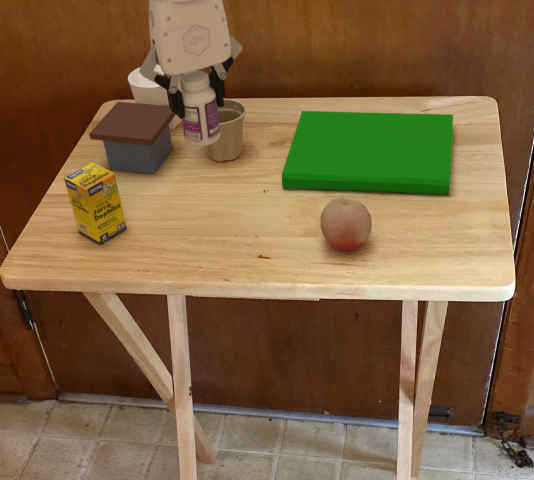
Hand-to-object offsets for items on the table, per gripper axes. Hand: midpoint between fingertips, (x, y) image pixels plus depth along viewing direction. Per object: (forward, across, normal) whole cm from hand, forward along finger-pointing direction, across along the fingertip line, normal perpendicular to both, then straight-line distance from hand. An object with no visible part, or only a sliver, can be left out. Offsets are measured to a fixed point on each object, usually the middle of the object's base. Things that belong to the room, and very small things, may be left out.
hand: (198, 107), depth 116 cm
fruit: (+23, +17, -13) cm, 31 cm away
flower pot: (+23, +12, +23) cm, 35 cm away
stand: (+23, -2, +30) cm, 38 cm away
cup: (+23, +7, +41) cm, 48 cm away
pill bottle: (+5, 0, 0) cm, 5 cm away
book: (+23, +34, +7) cm, 41 cm away
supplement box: (+23, -15, +12) cm, 30 cm away
